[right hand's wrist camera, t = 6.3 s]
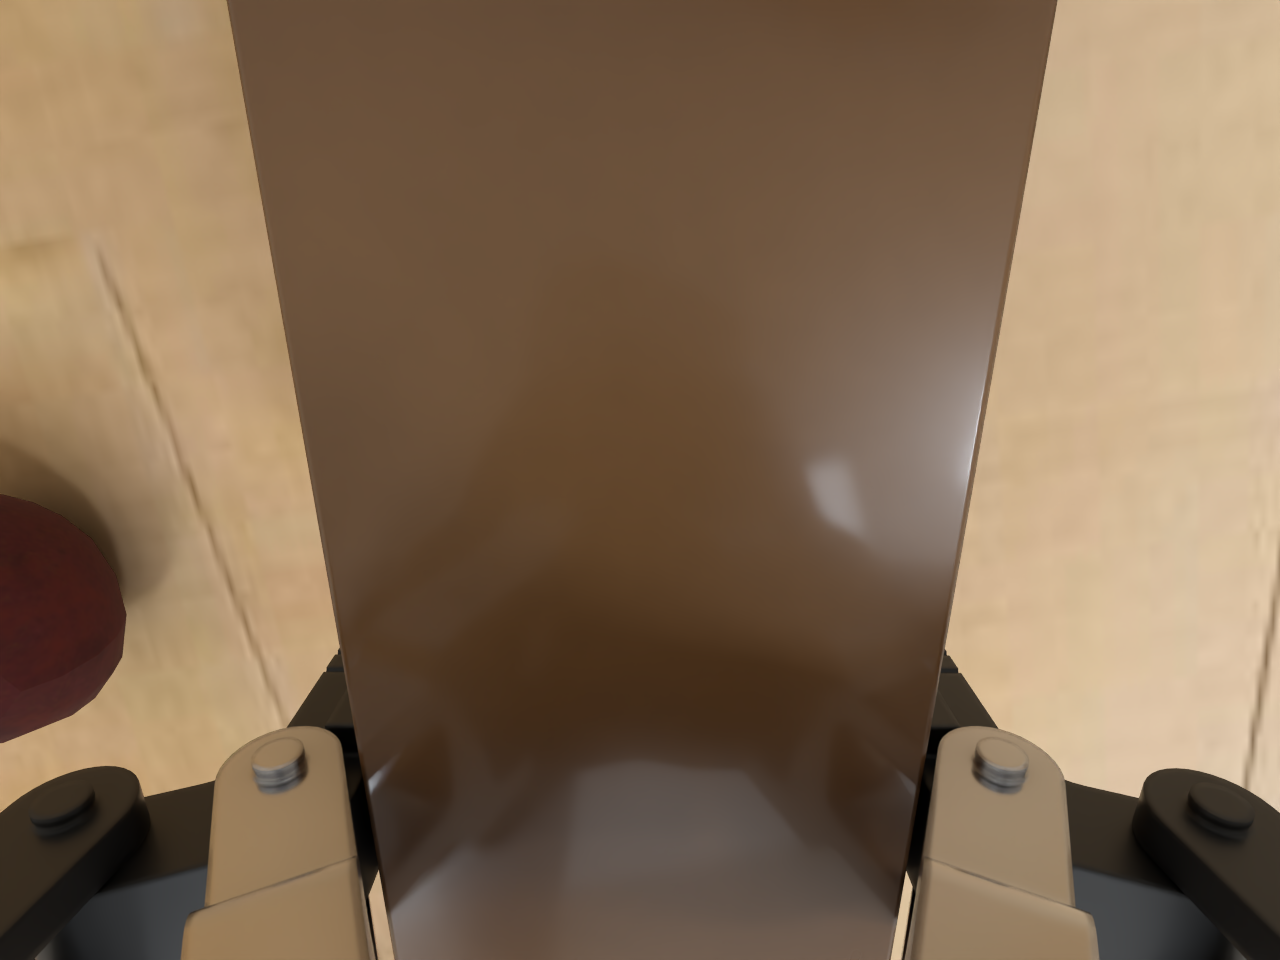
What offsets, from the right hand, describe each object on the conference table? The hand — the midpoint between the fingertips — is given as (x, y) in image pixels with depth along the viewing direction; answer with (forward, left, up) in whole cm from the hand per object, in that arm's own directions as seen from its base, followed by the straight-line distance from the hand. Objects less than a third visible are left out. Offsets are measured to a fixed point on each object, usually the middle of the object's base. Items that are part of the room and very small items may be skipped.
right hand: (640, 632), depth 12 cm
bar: (+5, +9, -4) cm, 11 cm away
